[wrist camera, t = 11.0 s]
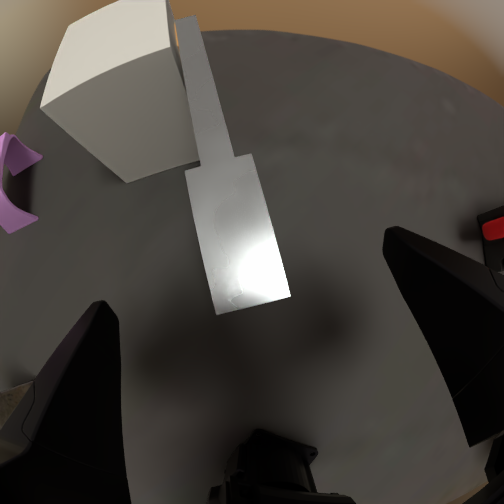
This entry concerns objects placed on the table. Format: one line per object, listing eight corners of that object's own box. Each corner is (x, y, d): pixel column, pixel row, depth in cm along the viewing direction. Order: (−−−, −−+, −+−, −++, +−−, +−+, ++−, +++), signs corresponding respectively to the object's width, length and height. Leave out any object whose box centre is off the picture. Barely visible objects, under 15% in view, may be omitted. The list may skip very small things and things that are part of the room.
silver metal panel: (270, 290, 21) (290, 296, 8) (240, 298, 21) (216, 314, 8) (225, 121, 23) (205, 12, 10) (200, 128, 23) (164, 23, 10)
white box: (211, 157, 23) (173, 45, 10) (127, 183, 23) (39, 108, 10) (193, 74, 24) (165, -21, 11) (123, 98, 24) (71, 19, 11)
